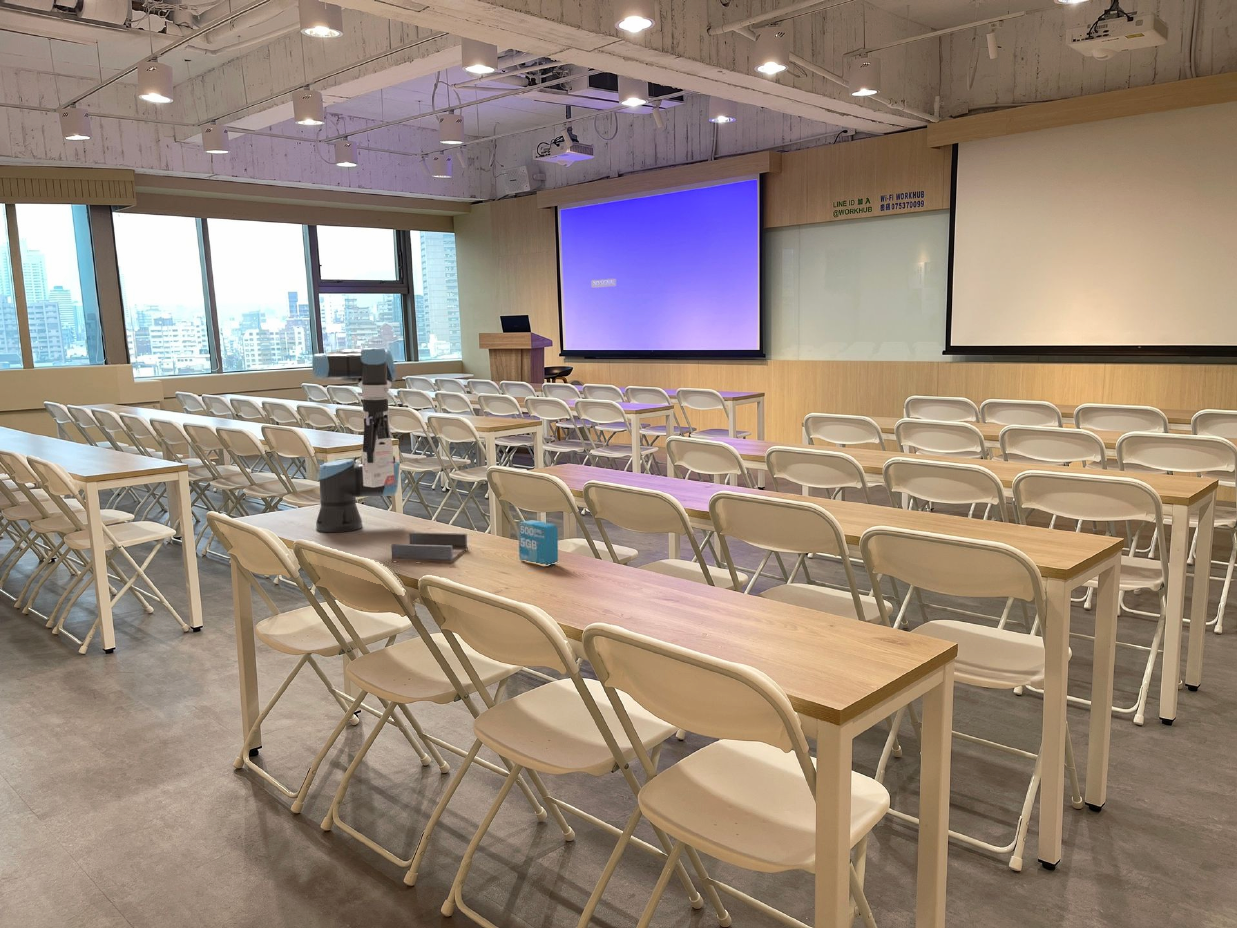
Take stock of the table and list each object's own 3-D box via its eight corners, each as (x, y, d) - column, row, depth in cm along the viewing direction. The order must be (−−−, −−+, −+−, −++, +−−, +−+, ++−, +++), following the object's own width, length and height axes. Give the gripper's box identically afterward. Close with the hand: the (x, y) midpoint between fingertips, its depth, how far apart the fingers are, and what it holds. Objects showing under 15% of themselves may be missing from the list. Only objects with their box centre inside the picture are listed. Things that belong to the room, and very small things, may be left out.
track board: (411, 547, 280) (411, 531, 279) (467, 548, 278) (467, 533, 277) (391, 561, 262) (390, 545, 262) (450, 563, 260) (450, 547, 260)
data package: (518, 561, 264) (518, 521, 262) (530, 558, 267) (529, 519, 265) (547, 568, 256) (546, 527, 254) (558, 565, 259) (558, 524, 258)
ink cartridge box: (384, 482, 283) (383, 436, 281) (394, 484, 280) (393, 437, 278) (362, 486, 277) (360, 439, 274) (372, 487, 274) (370, 440, 271)
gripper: (373, 401, 263) (376, 476, 266) (399, 395, 285) (402, 465, 288) (349, 401, 264) (352, 476, 267) (376, 395, 285) (379, 464, 289)
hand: (378, 470), depth 278 cm, fingers closed on ink cartridge box, 9 cm apart
